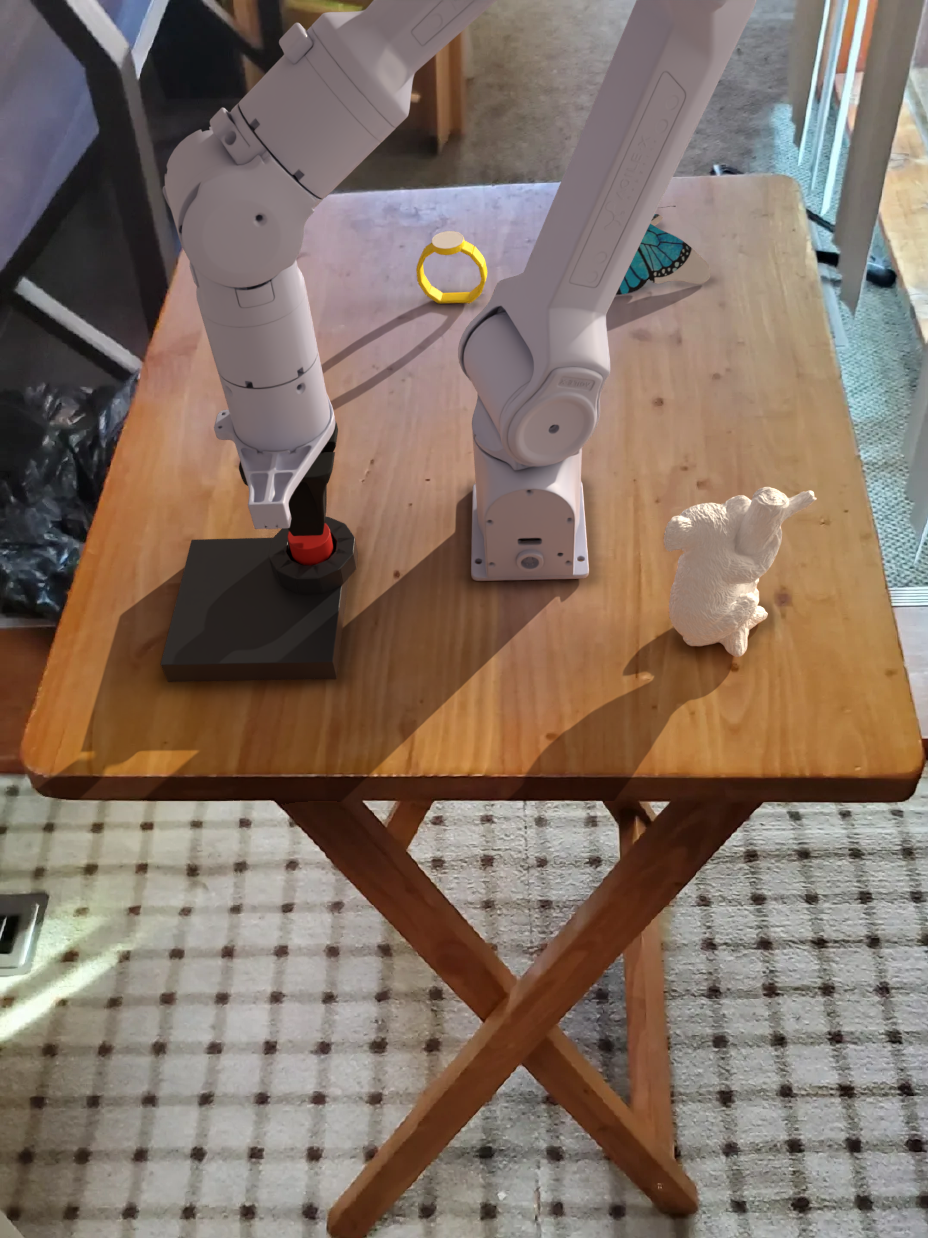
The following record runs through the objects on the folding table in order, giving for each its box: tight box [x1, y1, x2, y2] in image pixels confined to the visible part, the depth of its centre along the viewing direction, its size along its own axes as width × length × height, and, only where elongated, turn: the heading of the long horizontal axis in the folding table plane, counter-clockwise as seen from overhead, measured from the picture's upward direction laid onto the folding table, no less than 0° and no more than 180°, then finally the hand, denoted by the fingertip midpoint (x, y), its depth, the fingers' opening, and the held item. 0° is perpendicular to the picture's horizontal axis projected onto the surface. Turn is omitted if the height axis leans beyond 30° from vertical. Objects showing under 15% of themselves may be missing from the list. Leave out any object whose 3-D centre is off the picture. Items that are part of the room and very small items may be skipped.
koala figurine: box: [663, 486, 817, 658], centre depth 65 cm, size 8×7×12 cm
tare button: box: [288, 524, 333, 565], centre depth 71 cm, size 3×3×2 cm
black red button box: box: [160, 515, 359, 683], centre depth 71 cm, size 11×12×4 cm
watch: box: [415, 230, 488, 305], centre depth 93 cm, size 6×3×6 cm, turn 81°
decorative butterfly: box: [615, 205, 712, 296], centre depth 95 cm, size 10×6×10 cm
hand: (308, 528), depth 70 cm, fingers closed
